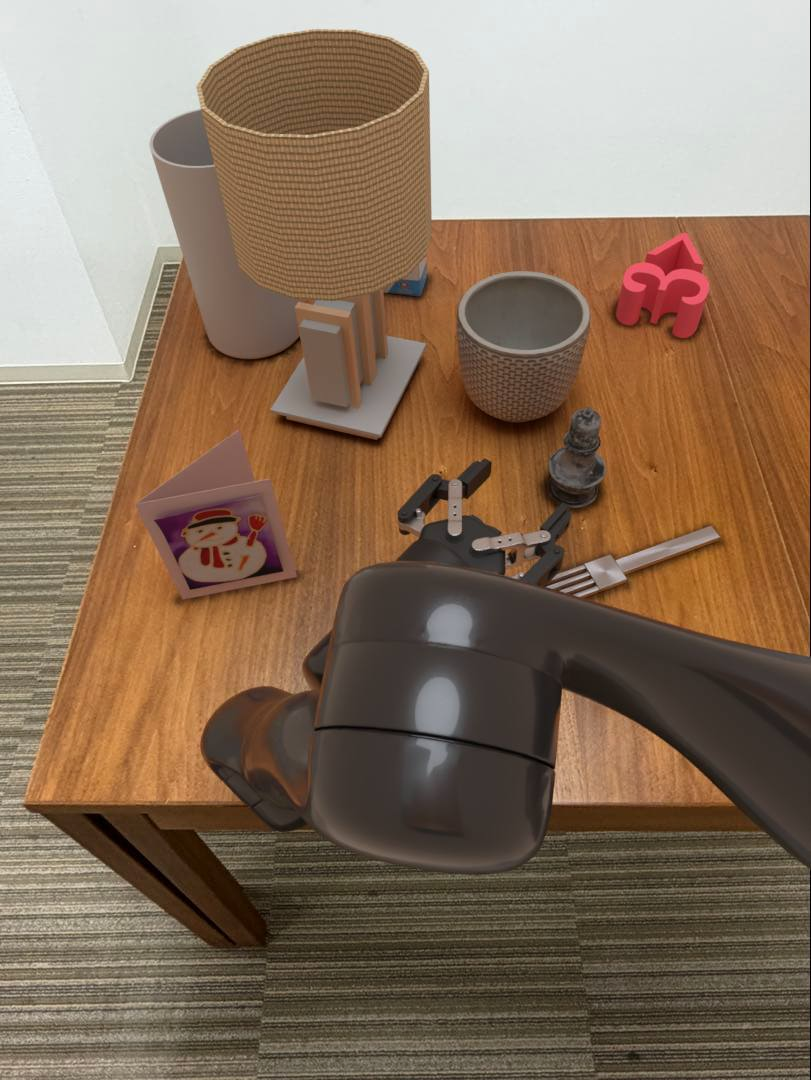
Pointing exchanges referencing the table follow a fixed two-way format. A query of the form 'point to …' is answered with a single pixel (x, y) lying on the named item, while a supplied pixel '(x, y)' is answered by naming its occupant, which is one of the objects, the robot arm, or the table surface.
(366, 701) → the robot arm
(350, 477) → the table surface
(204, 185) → the cylinder vase
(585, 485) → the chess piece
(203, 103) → the desk lamp
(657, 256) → the letters
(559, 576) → the fork
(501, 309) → the planter
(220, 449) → the greeting card
